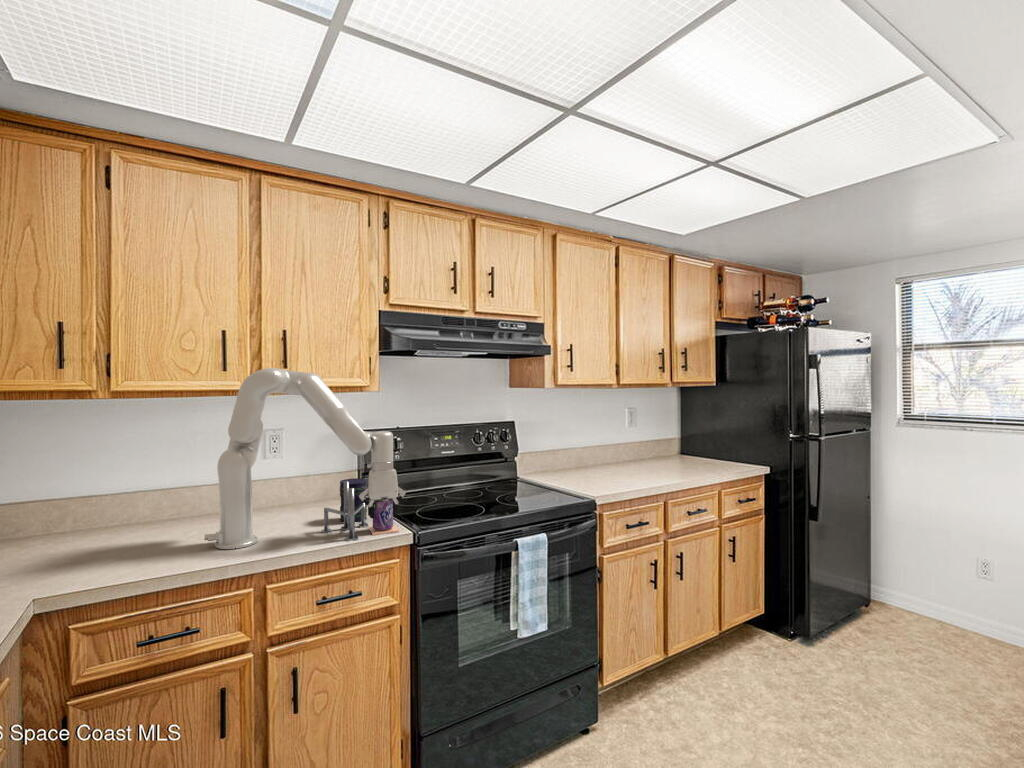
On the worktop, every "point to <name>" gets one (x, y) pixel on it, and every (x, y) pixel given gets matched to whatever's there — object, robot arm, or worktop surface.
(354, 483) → the dark purple cylinder
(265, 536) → the worktop surface
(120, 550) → the worktop surface
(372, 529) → the plate
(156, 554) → the worktop surface
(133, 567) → the worktop surface
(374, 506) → the beverage can
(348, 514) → the grey open angular frame
